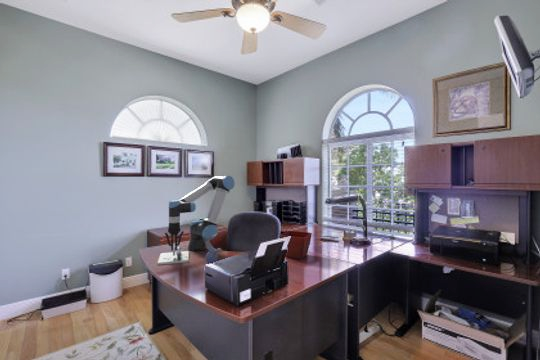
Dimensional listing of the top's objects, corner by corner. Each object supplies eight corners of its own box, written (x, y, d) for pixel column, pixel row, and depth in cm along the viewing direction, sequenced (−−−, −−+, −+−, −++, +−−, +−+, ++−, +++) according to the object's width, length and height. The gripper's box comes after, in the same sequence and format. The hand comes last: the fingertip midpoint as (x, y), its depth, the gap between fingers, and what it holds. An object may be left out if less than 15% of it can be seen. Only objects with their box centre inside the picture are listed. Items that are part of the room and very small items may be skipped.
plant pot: (289, 250, 206) (289, 230, 205) (311, 254, 197) (312, 232, 197) (279, 257, 189) (279, 235, 188) (304, 261, 180) (304, 238, 180)
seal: (219, 266, 170) (219, 236, 170) (202, 264, 173) (203, 235, 173) (225, 262, 178) (225, 233, 178) (209, 260, 181) (209, 232, 181)
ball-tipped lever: (176, 253, 192) (176, 247, 192) (181, 252, 194) (181, 246, 193) (176, 260, 175) (176, 254, 175) (181, 260, 176) (181, 253, 176)
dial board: (188, 252, 199) (188, 250, 199) (188, 262, 178) (188, 259, 178) (160, 255, 193) (160, 252, 193) (157, 264, 172) (157, 262, 172)
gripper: (164, 223, 176) (163, 257, 176) (183, 222, 180) (183, 255, 180) (164, 221, 183) (164, 254, 183) (184, 220, 187) (183, 252, 187)
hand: (174, 255), depth 182 cm, fingers closed
